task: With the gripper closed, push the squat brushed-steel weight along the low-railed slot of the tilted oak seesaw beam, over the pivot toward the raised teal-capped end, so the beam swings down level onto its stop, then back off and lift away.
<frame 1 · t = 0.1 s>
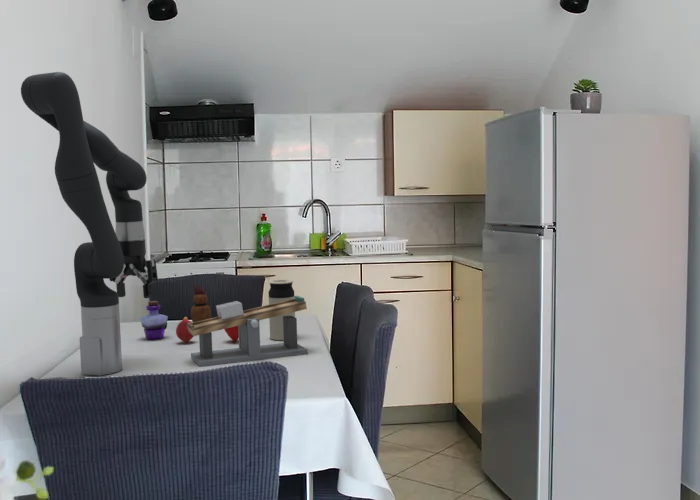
hand: (134, 297, 185), 17 cm above the table, tool pointing down, fingers open, 8 cm apart
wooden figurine: (201, 326, 236), on the table
beam: (247, 314, 187), point 11 cm above the table, hinge at -8.1°, touching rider
travel mug: (282, 338, 211), on the table
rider: (231, 318, 185), point 11 cm above the table, tilted 8°, touching beam
pivot stand: (249, 355, 188), on the table
pomegranate: (186, 343, 207), on the table
strawberry: (234, 342, 207), on the table
potion bottle: (154, 339, 215), on the table
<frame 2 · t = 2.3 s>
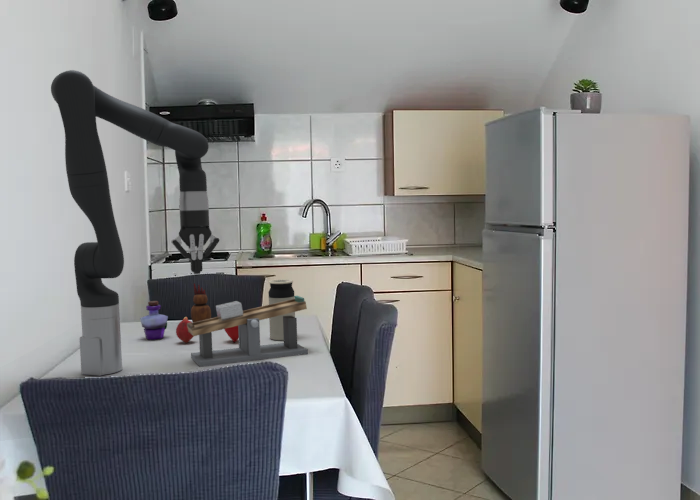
hand: (196, 273, 181), 24 cm above the table, tool pointing down, fingers closed
nothing on the table moved.
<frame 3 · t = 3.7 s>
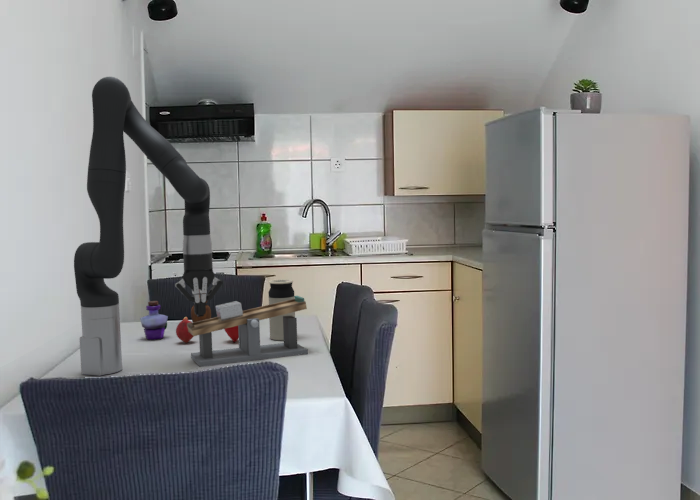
hand: (200, 316, 182), 12 cm above the table, tool pointing down, fingers closed
nothing on the table moved.
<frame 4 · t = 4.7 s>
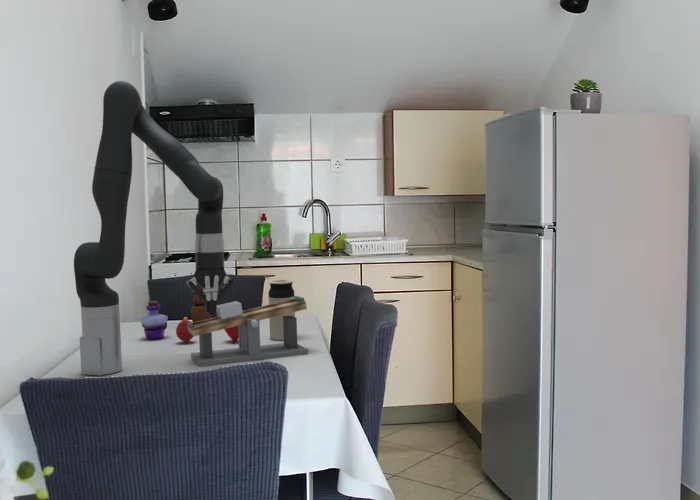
hand: (211, 313, 183), 13 cm above the table, tool pointing down, fingers closed
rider: (230, 318, 185), point 11 cm above the table, tilted 8°, touching beam, gripper
everything else where it was.
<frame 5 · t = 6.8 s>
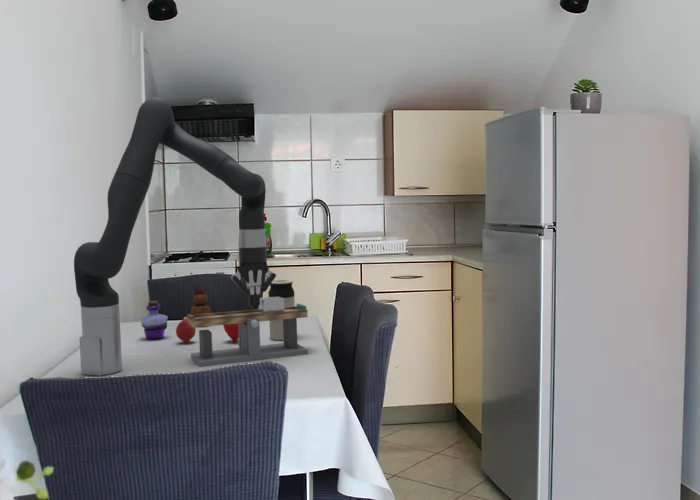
hand: (254, 307, 188), 13 cm above the table, tool pointing down, fingers closed
beam: (248, 314, 187), point 11 cm above the table, hinge at 0.4°, touching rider
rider: (271, 312, 190), point 11 cm above the table, touching beam, gripper
everything else where it was.
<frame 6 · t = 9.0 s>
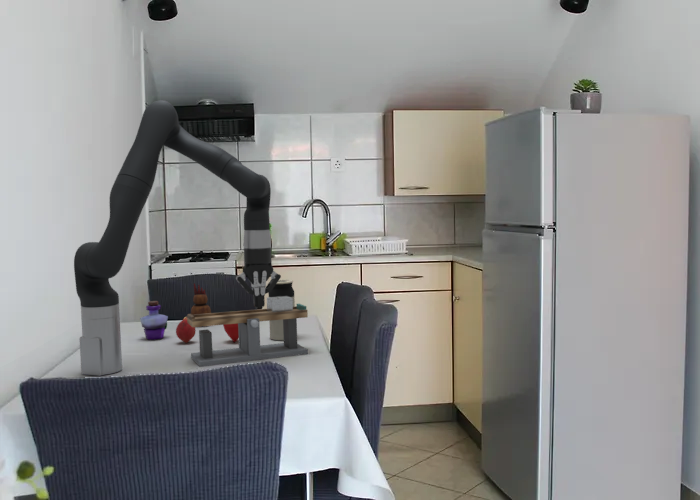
hand: (259, 308, 188), 13 cm above the table, tool pointing down, fingers closed
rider: (279, 311, 191), point 11 cm above the table, touching beam
everything else where it was.
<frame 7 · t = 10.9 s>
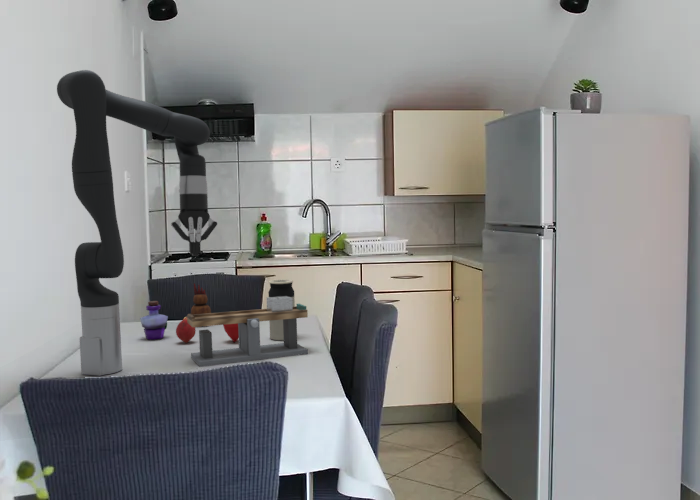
hand: (195, 255, 187), 28 cm above the table, tool pointing down, fingers closed
nothing on the table moved.
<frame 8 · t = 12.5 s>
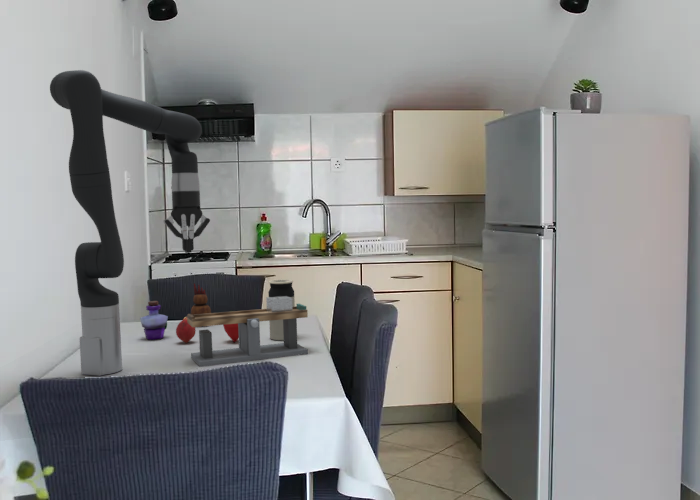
hand: (188, 252, 188), 29 cm above the table, tool pointing down, fingers closed
nothing on the table moved.
at the end: beam at +0° (first picture: -8°); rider 0.4 cm from the target spot on the beam, point 1.4 cm above the beam's base; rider tilted 1° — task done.
